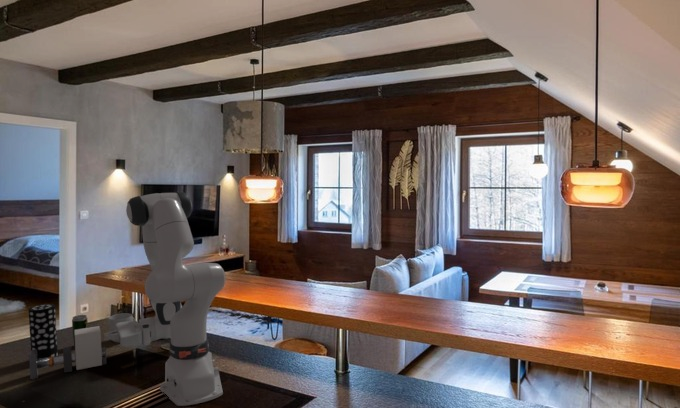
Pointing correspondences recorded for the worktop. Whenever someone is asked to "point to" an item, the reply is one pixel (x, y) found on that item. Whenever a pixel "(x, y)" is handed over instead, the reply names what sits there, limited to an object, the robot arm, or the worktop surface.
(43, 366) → the pipe
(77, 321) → the beer can
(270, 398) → the worktop surface
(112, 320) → the mug
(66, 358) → the charcoal grey box
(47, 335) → the white-spotted black cylinder
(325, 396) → the worktop surface
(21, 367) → the worktop surface
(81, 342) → the notched block
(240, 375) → the worktop surface
